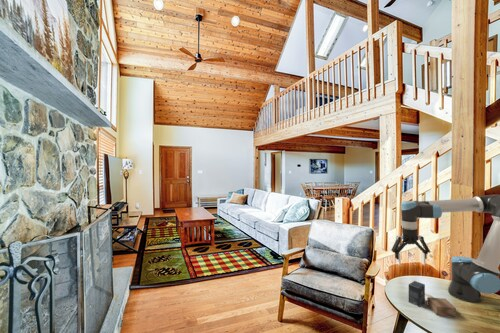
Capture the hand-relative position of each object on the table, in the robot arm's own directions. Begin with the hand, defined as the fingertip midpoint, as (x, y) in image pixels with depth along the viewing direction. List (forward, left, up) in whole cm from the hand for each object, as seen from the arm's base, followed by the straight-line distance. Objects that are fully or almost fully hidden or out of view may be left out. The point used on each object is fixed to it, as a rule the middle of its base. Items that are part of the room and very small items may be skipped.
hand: (411, 264), depth 140 cm
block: (-12, +7, -22) cm, 26 cm away
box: (-3, 0, -22) cm, 22 cm away
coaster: (-10, -6, -22) cm, 25 cm away
